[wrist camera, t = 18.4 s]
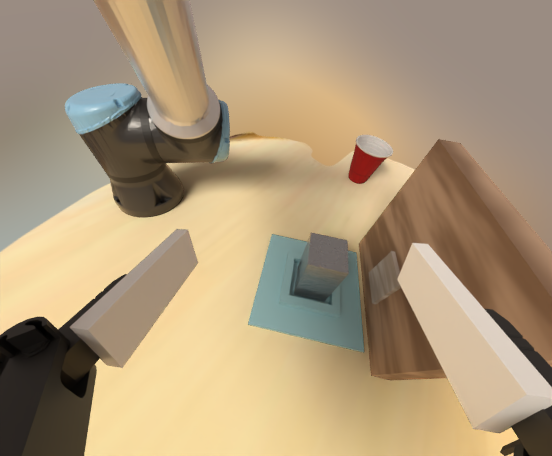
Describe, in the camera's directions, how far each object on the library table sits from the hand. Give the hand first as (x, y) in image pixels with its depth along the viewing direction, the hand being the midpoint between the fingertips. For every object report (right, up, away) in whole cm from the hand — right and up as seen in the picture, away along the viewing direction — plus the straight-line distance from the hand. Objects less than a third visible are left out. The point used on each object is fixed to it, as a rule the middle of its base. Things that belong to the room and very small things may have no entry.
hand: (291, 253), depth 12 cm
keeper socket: (+6, -10, +28) cm, 30 cm away
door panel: (+18, -12, +27) cm, 35 cm away
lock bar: (+6, -10, +27) cm, 30 cm away
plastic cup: (+26, +18, +53) cm, 61 cm away
